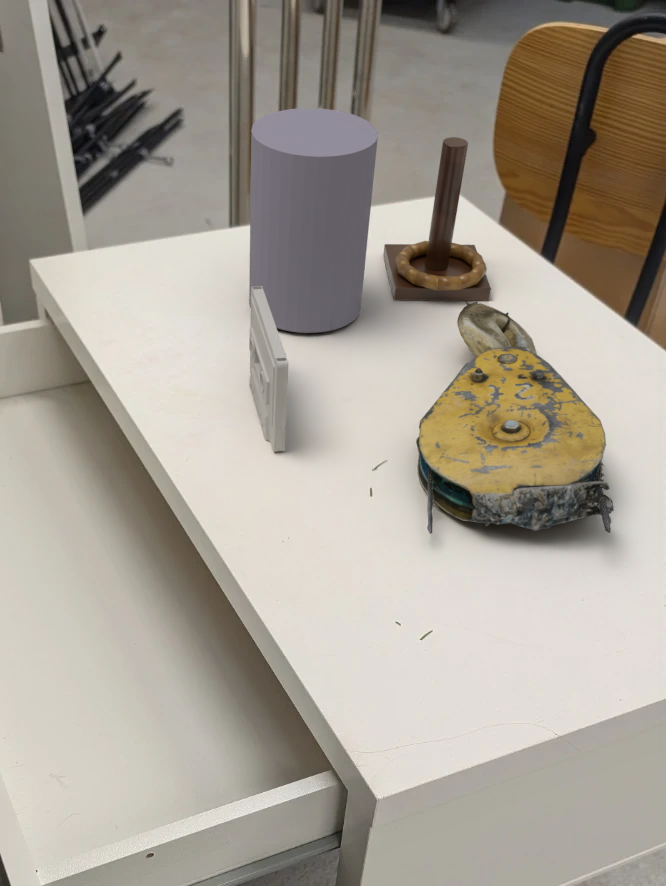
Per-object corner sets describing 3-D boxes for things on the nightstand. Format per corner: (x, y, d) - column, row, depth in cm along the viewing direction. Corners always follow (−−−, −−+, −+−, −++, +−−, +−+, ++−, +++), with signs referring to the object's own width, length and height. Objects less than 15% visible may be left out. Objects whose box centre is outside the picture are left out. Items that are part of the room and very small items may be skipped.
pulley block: (588, 273, 86) (631, 491, 67) (581, 338, 90) (619, 560, 71) (418, 286, 88) (412, 500, 69) (419, 348, 93) (414, 566, 73)
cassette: (291, 453, 80) (295, 362, 74) (267, 454, 79) (270, 364, 74) (265, 371, 87) (267, 283, 81) (243, 372, 87) (244, 284, 81)
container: (340, 345, 90) (355, 165, 79) (232, 322, 92) (232, 143, 81) (374, 293, 97) (393, 119, 85) (272, 272, 99) (277, 100, 87)
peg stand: (472, 256, 102) (496, 122, 93) (488, 300, 96) (516, 162, 87) (383, 256, 102) (398, 121, 92) (394, 300, 96) (411, 161, 87)
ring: (475, 251, 100) (477, 238, 99) (491, 292, 95) (494, 280, 94) (390, 250, 100) (391, 238, 99) (402, 292, 94) (403, 280, 93)
